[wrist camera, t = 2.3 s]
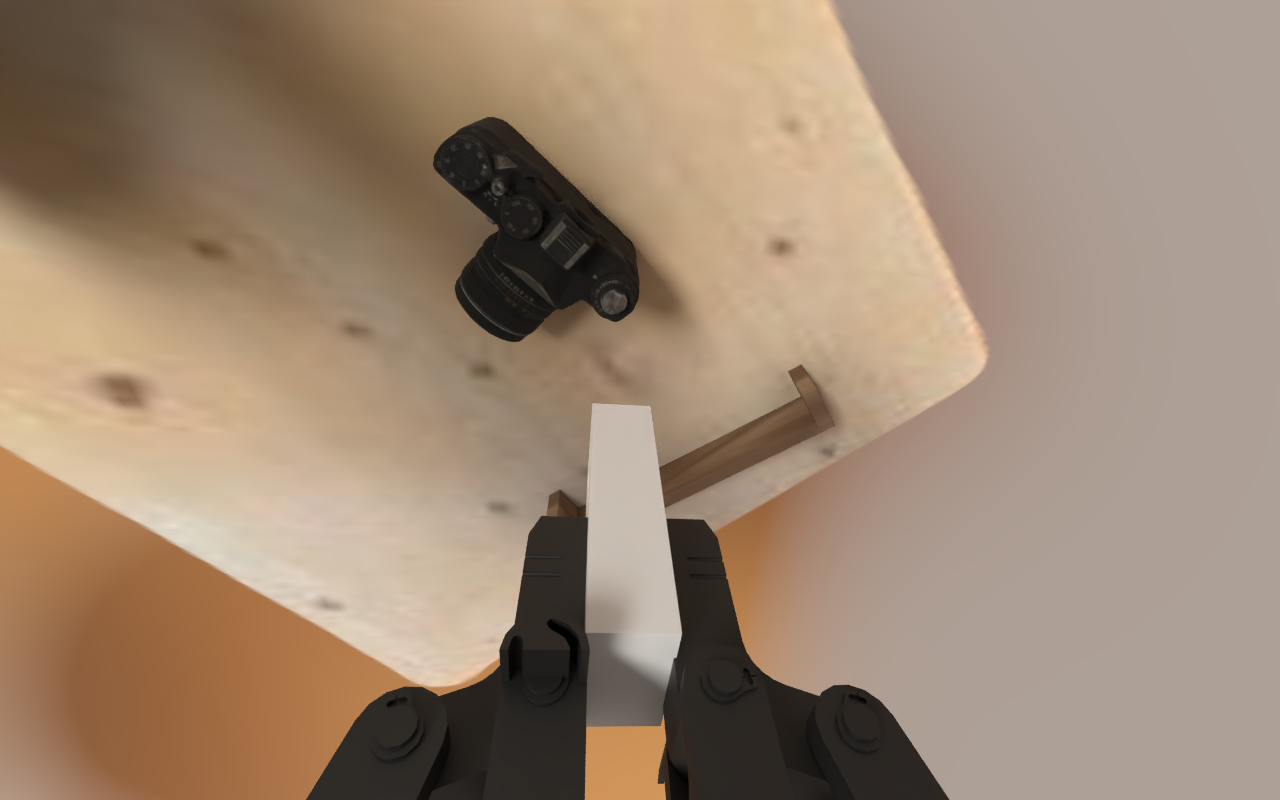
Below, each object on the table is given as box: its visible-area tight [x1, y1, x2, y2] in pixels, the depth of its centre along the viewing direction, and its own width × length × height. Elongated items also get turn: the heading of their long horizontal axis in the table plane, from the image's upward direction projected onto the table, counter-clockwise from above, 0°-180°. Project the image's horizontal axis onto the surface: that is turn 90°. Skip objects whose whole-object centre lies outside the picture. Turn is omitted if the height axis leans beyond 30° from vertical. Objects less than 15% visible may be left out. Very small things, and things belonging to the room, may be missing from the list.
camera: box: [433, 117, 639, 342], centre depth 35 cm, size 14×11×10 cm
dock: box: [547, 365, 835, 517], centre depth 48 cm, size 4×26×4 cm, turn 121°
